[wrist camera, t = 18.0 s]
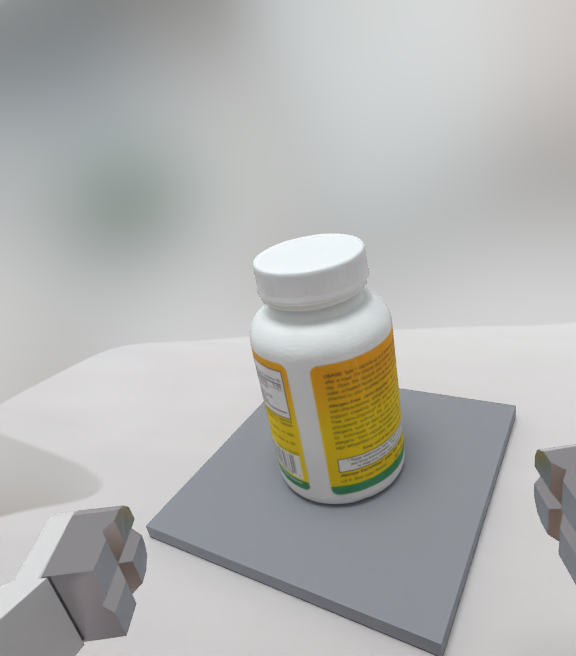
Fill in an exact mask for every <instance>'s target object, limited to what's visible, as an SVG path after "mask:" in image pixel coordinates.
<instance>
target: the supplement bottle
mask: <svg viewBox="0 0 576 656" xmlns="http://www.w3.org/2000/svg"><path fill="white" fill-rule="evenodd" d="M253 269H254V274H255V278H256V284H257V292H258V294H259V295H260V297H261V300H262V301H263V303H264V304H265V305H264V306H263V307H262V308H261V309H260V310H259V311H258V312H257V314H256V315H255V317H254V319H253V321H252V323H251V327H250V342H251V347H252V352H253V357H254V361H255V365H256V370H257V374H258V378H259V382H260V387H261V391H262V395H263V399H264V403H265V407H266V412H267V416H268V420H269V424H270V429H271V434H272V438H273V442H274V446H275V451H276V455H277V459H278V463H279V467H280V470H281V473H282V475H283V477H284V479H285V481H286V482H287V484H288V485H289V486H290V487H291V488H292V489H293V490H294V491H295V492H297V493H298V494H299V495H301V496H303V497H305V498H307V499H309V500H312V501H315V502H319V503H325V504H346V503H352V502H356V501H359V500H362V499H364V498H367V497H370V496H373V495H375V494H377V493H379V492H381V491H382V490H384V489H385V488H386V487H388V486H389V485H390V484H391V483H392V482H393V481H394V480H395V479H396V477H397V476H398V474H399V472H400V471H401V468H402V466H403V462H404V457H405V451H404V438H403V429H402V416H401V407H400V397H399V387H398V377H397V368H396V357H395V347H394V338H393V327H392V318H391V314H390V310H389V308H388V306H387V304H386V303H385V301H384V300H383V299H382V298H381V297H380V296H379V295H378V294H377V293H375V292H374V291H372V290H370V289H368V288H366V287H365V285H366V283H367V278H368V276H369V269H368V264H367V259H366V251H365V246H364V244H363V242H362V240H360V239H359V238H357V237H355V236H351V235H346V234H319V235H311V236H306V237H300V238H296V239H292V240H288V241H285V242H282V243H279V244H277V245H275V246H272V247H270V248H268V249H267V250H265V251H263V252H262V253H260V254H259V255H258V256H257V257H256V258H255V259H254V261H253Z"/></svg>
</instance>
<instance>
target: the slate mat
mask: <svg viewBox="0 0 576 656" xmlns="http://www.w3.org/2000/svg"><path fill="white" fill-rule="evenodd" d="M399 397H400V407H401V416H402V429H403V438H404V451H405V457H404V462H403V466H402V468H401V471H400V472H399V474H398V476H397V477H396V479H395V480H394V481H393V482H392V483H391V484H390V485H389V486H388V487H386V488H385V489H384V490H382V491H381V492H379V493H377V494H375V495H373V496H370V497H367V498H364V499H362V500H359V501H356V502H352V503H346V504H325V503H319V502H315V501H312V500H309V499H307V498H305V497H303V496H301V495H299V494H298V493H297V492H295V491H294V490H293V489H292V488H291V487H290V486H289V485H288V484H287V482H286V481H285V479H284V477H283V475H282V473H281V470H280V467H279V463H278V459H277V455H276V451H275V446H274V442H273V438H272V434H271V429H270V424H269V420H268V416H267V412H266V407H265V403H264V402H263V403H262V404H261V405H260V406H259V407H258V408H257V409H256V410H255V411H254V413H253V414H252V415H251V416H250V417H249V418H248V419H247V420H246V421H245V422H244V423H243V424H242V425H241V426H240V427H239V428H238V429H237V430H236V432H235V433H234V434H233V435H232V436H231V437H230V438H229V439H228V440H227V441H226V442H225V443H224V444H223V445H222V446H221V447H220V448H219V449H218V450H217V452H216V453H215V454H214V455H213V456H212V457H211V458H210V459H209V460H208V461H207V462H206V463H205V464H204V465H203V466H202V467H201V468H200V469H199V471H198V472H197V473H196V474H195V475H194V476H193V477H192V478H191V479H190V480H189V481H188V482H187V483H186V484H185V485H184V486H183V487H182V488H181V490H180V491H179V492H178V493H177V494H176V495H175V496H174V497H173V498H172V499H171V500H170V501H169V502H168V503H167V504H166V505H165V506H164V507H163V508H162V510H161V511H160V512H159V513H158V514H157V515H156V516H155V517H154V518H153V519H152V520H151V521H150V522H149V523H148V524H147V525H146V527H147V530H148V532H149V535H150V537H153V538H155V539H158V540H160V541H163V542H165V543H167V544H170V545H172V546H175V547H177V548H179V549H182V550H184V551H187V552H189V553H191V554H194V555H196V556H199V557H201V558H204V559H206V560H208V561H211V562H213V563H216V564H218V565H220V566H223V567H225V568H228V569H230V570H233V571H235V572H237V573H240V574H242V575H245V576H247V577H249V578H252V579H254V580H257V581H259V582H261V583H264V584H266V585H269V586H271V587H274V588H276V589H278V590H281V591H283V592H286V593H288V594H290V595H293V596H295V597H298V598H300V599H303V600H305V601H307V602H310V603H312V604H315V605H317V606H319V607H322V608H324V609H327V610H329V611H331V612H334V613H336V614H339V615H341V616H344V617H346V618H348V619H351V620H353V621H356V622H358V623H360V624H363V625H365V626H368V627H370V628H373V629H375V630H377V631H380V632H382V633H385V634H387V635H389V636H392V637H394V638H397V639H399V640H401V641H404V642H406V643H409V644H411V645H414V646H416V647H418V648H421V649H423V650H426V651H428V652H430V653H433V654H435V655H438V656H443V653H444V650H445V647H446V643H447V640H448V637H449V634H450V630H451V627H452V624H453V620H454V617H455V614H456V611H457V607H458V604H459V601H460V597H461V594H462V591H463V587H464V584H465V581H466V578H467V574H468V571H469V568H470V564H471V561H472V558H473V555H474V551H475V548H476V545H477V541H478V538H479V535H480V531H481V528H482V525H483V522H484V518H485V515H486V512H487V508H488V505H489V502H490V499H491V495H492V492H493V489H494V485H495V482H496V479H497V476H498V472H499V469H500V466H501V462H502V459H503V456H504V452H505V449H506V446H507V443H508V439H509V436H510V433H511V429H512V426H513V423H514V420H515V413H516V406H514V405H508V404H501V403H494V402H488V401H481V400H474V399H467V398H461V397H454V396H447V395H441V394H434V393H427V392H420V391H414V390H407V389H400V388H399Z"/></svg>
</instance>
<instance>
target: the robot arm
mask: <svg viewBox="0 0 576 656" xmlns="http://www.w3.org/2000/svg"><path fill="white" fill-rule="evenodd" d="M535 467H536V469H537V471H538V472H539V474H540V476H541V477H540V478H539V479H538V480H537V481H536V483H535V484H534V498H535V503H536V507H537V512H538V514H539V517H540V520H541V522H542V524H543V526H544V528H545V530H546V532H547V534H548V535H550V536H551V537H553V538H555V539H556V540H558V541H559V555H560V557H561V559H562V561H563V563H564V564H565V566H566V568H567V570H568V571H569V573H570V575H571V577H572V579H573V580H574V582H575V584H576V444H574V445H567V446H560V447H553V448H546V449H539V450H537V452H536V455H535ZM133 522H134V517H133V515H132V513H131V511H130V509H129V507H126V506H116V507H107V508H97V509H88V510H79V511H76V512H66V513H56V514H54V515H53V516H52V517H50V518H49V519H48V521H47V523H46V525H45V526H44V528H43V530H42V532H41V533H40V535H39V537H38V539H37V541H36V542H35V544H34V546H33V548H32V549H31V551H30V553H29V555H28V557H27V558H26V560H25V562H24V564H23V565H22V567H21V569H20V571H19V573H18V574H17V576H16V578H15V580H14V581H13V582H8V583H5V584H4V585H3V586H1V587H0V656H75V655H76V654H77V653H78V652H79V650H80V649H81V648H82V647H83V646H84V642H87V641H94V640H101V639H108V638H115V637H122V636H127V632H128V629H129V626H130V622H131V619H132V616H133V613H134V609H135V606H136V602H135V600H134V597H133V595H132V594H133V592H134V591H135V590H136V589H137V588H138V587H139V586H140V585H141V584H142V583H143V579H144V576H145V572H146V562H147V553H146V547H145V543H144V540H143V538H142V535H141V534H139V533H138V532H136V531H135V530H133V529H132V528H131V527H132V525H133Z"/></svg>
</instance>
